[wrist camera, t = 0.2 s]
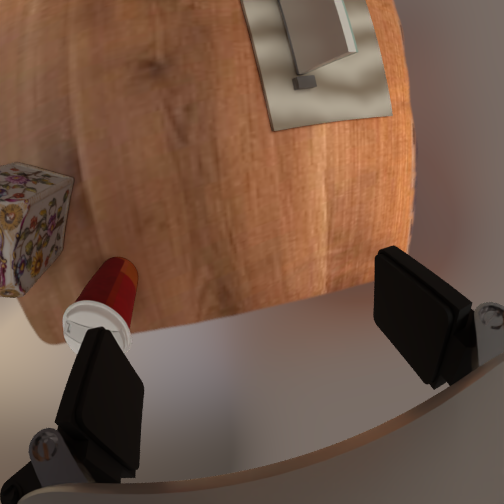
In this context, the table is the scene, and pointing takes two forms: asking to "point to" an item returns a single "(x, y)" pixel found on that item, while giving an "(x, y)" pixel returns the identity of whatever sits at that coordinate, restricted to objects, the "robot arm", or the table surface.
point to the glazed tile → (317, 32)
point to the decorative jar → (30, 224)
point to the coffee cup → (104, 304)
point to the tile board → (317, 72)
